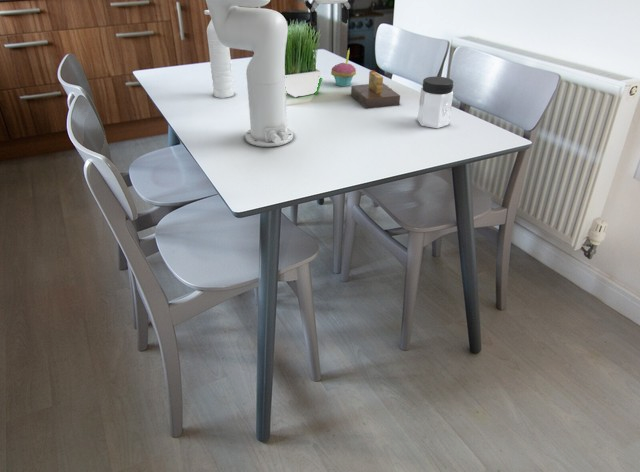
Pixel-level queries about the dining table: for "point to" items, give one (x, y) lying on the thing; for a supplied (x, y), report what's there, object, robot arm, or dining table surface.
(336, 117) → the dining table surface
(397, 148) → the dining table surface
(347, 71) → the cupcake
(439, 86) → the jar
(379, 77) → the tap handle
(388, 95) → the plate
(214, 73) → the water bottle
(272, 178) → the dining table surface
